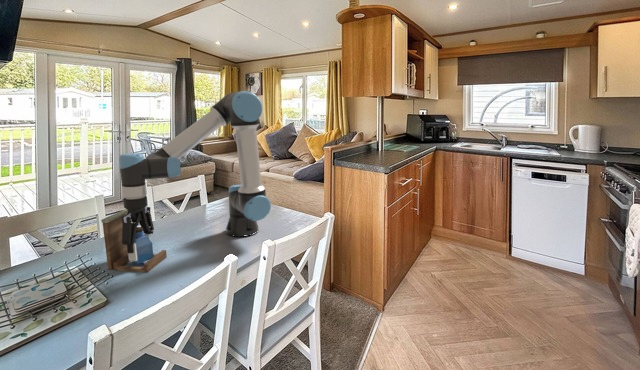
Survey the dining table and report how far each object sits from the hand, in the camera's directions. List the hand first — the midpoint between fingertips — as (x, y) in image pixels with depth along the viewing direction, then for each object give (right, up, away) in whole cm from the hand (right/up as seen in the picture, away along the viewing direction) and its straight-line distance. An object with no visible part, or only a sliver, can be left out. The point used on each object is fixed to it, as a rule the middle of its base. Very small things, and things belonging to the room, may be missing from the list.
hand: (140, 255), depth 126 cm
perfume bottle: (0, -2, 0) cm, 2 cm away
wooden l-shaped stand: (-1, -3, +1) cm, 4 cm away
